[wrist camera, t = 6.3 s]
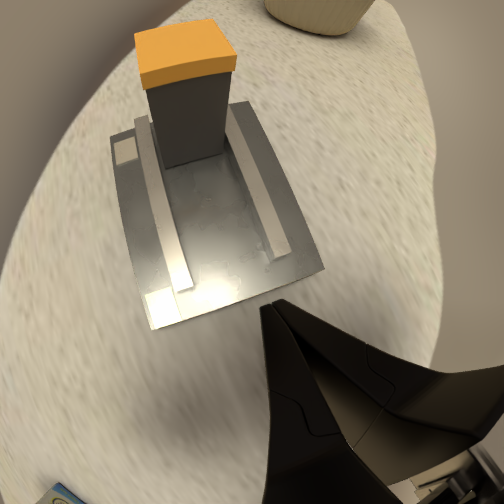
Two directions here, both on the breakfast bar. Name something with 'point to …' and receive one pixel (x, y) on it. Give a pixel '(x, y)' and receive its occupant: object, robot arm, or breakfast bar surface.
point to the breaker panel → (209, 221)
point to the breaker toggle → (186, 87)
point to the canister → (319, 14)
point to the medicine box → (59, 496)
